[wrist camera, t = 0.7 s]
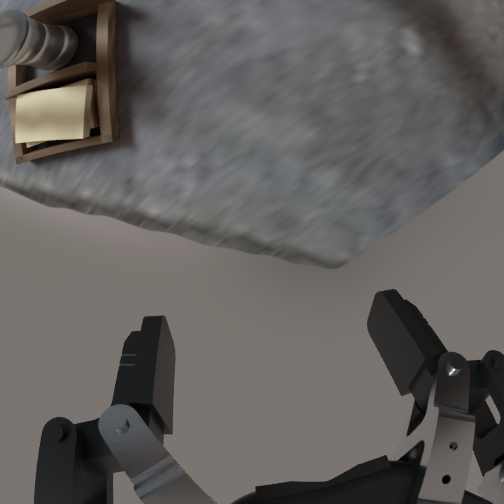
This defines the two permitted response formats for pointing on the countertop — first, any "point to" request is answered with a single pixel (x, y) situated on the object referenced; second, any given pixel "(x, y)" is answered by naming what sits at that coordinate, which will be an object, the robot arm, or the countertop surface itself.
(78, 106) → the offcut top
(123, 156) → the countertop surface
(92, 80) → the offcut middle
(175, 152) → the countertop surface
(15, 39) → the silver metal bottle
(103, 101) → the walnut rack
